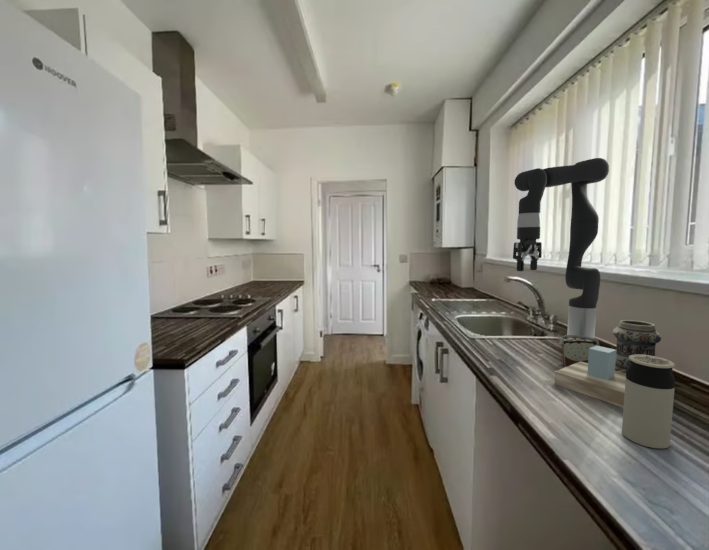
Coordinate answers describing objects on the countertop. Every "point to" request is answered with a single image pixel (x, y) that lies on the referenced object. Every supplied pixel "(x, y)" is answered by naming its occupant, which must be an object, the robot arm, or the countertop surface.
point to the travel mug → (648, 401)
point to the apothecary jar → (634, 341)
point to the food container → (576, 348)
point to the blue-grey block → (601, 362)
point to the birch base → (592, 383)
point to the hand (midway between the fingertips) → (527, 270)
